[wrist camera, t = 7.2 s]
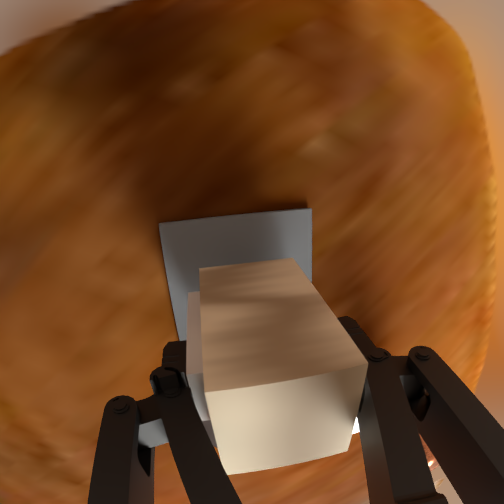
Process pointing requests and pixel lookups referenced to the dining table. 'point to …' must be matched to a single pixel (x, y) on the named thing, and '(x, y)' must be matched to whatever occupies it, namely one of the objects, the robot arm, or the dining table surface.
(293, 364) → the block
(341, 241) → the dining table surface
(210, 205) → the dining table surface
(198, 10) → the dining table surface
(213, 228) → the pad
